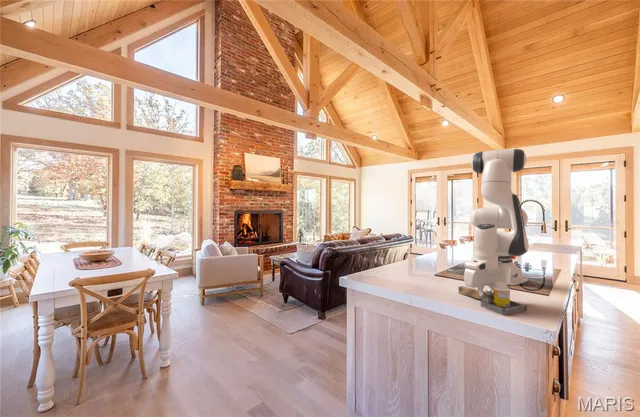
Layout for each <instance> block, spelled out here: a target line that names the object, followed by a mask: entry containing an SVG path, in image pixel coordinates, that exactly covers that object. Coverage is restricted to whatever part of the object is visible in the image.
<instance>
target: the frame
mask: <svg viewBox="0 0 640 417" xmlns="http://www.w3.org/2000/svg"><path fill="white" fill-rule="evenodd" d="M480 307H481V308H485V309H487V310H490V311H492V312H495V313H497V314H500V315H503V316H507V315H508V316H509V315H512V314H513V315H514V314H517V313H522V312H526V311H527V304H523V303H520V302H517V301H514V300H511V299H510V308H505V309H503V308H501V307H498V306H495V305H493V303H487V302H484V301H482V300H481V301H480Z"/></svg>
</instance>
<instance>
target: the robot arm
mask: <svg viewBox="0 0 640 417" xmlns="http://www.w3.org/2000/svg"><path fill="white" fill-rule="evenodd" d="M526 164H527V155H526V154H525V151H524V150H523V149H520V148H514V149H509V148H508V149H504V148H503V149H496V150H495V149H494V150H487V151H480V152H476V153H475V154H474V155H473V156H472V159H471V164H470V165H471V168H472V170H473V172H475V173H476V174H480V175H481V180H480V192H481V196H482V198H484V200H486V201H487V202H489V203H491V204H494V205H496V206H499V207H479V208H475V209H473V210H472V211H471V213H470V214H469V215H470V216H469V221H470V224H471V225H472V226H473V227H474V229H475V230H474V232H473V233H474V235H473V246H474V252H473V257H471V258H470V259H469V260H467V261H465V262H464V268H465V270H464V273H463V274H464V277H463V281H464V285H465V287H468V288H472V289H476V288H477V290H479V295H480V296H482V295H481V294H486V292H488V293H492V292H493V287H494V286H495V284H496V281H503V282H506V283H507V286H508V285H509V286H517V285H520V284H524V283H527V282H528V280H529V279H528V278H526V277H524V276H523V271H522V269H521V268H520V267H519V266H518V265H516V264H515V263H514V262H513V260H516V259H517V257H521V256H523V255H524V254H526V253H527V252H528V250H529V248H530V247H529V246H530V245H529V244H530V243H529V240H528V237H527V232H526V227H525V226H526V225H527V223H528V220H529V217H528V214H527V212H526V211H525V210H524V209H523V208H522V206H521V202H520V198H519V197H518V195H517V194H515V193H513V191H512V172H513V173H517V172H521V170H523V169H524V168H525V166H526ZM497 229H505V230H506V229H507V230H511V231H501V230H497ZM487 286H488V287H487ZM485 287H487V288H486V289H485V291H484V288H485Z"/></svg>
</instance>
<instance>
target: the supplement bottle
mask: <svg viewBox="0 0 640 417" xmlns="http://www.w3.org/2000/svg"><path fill="white" fill-rule="evenodd" d="M510 291H511V289H510V287H508V284H507V283H506V282H503V281H496V284H494V287H493V291H492V292H493V303H492V305H495V306H498V307H501V308H503V309H505V308H510V307H511V306H510V300H511V299H510V298H511V293H510Z"/></svg>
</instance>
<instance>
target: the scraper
mask: <svg viewBox="0 0 640 417" xmlns="http://www.w3.org/2000/svg"><path fill="white" fill-rule="evenodd" d="M485 292H486V291H485ZM458 294H460V295H464V296H468V297H471V298H474V299H477V300H481V301H484V302H487V303H490V304H493V291H492V293H488V292H486V294H481V295H482V296H480V295H479V290H478V289H476V288H471V287H468V286H463V285H462V286H458Z"/></svg>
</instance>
